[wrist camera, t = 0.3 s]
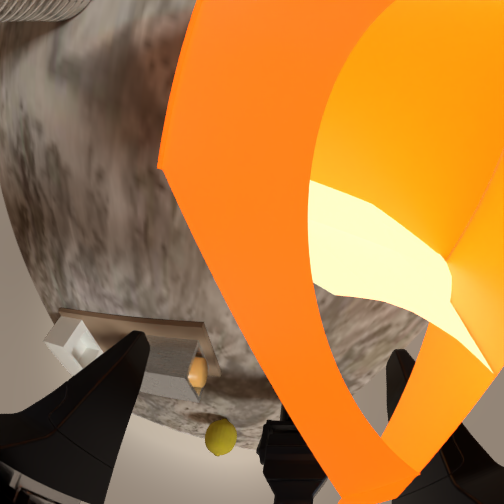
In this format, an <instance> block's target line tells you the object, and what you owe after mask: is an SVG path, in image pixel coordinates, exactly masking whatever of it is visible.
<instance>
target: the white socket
mask: <svg viewBox="0 0 504 504" xmlns="http://www.w3.org/2000/svg"><path fill="white" fill-rule="evenodd" d="M44 343H45V344H46V345H47V347H48V348H49V349H50V351H51V352H52V353H53V354H54V356H55V357H56V358H57V359H58V361H59V362H60V363H61V364H62V365H63V367H64V368H65V369H66V370H67V371H68V372H69V373H70V374H71V375H73V376H74V375H76V374H77V373H78V372H79V371H81V370H82V369H83V368H85V367H86V366H87V365H88V364H90V363H91V362H92V361H94V360H95V359H96V358H98V357H99V356H100V355H101V354H103V353H104V352H103V351H102V350H101V348H100V347H99V345H98V344H97V342H96V341H95V339H94V338H93V336H92V335H91V333H90V332H89V330H88V329H87V327H86V326H85V324H84V322H83V321H82V320H81V319H75V318H69V317H64V316H61V317H60V318H59V319H58V321H57V322H56V323H55V325H54V326H53V328H52V329H51V330H50V332H49V333H48V334H47V336H46V337H45V339H44Z"/></svg>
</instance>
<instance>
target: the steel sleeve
mask: <svg viewBox="0 0 504 504" xmlns="http://www.w3.org/2000/svg"><path fill="white" fill-rule="evenodd" d="M146 337H147V340H148V342H149V344H150V353H149V357H148V361H147V365H146V369H145V373H144V377H143V381H142V385H141V388H140V392H144V393H149V394H154V395H158V396H164V397H169V398H174V399H180V400H186V401H192V402H200V398H201V395H202V391H203V388H204V386H203V387H202V388H201V387H193V386H192V384H191V382H190V380H189V378H188V376H189V373H190V370H191V367H192V364H193V361H194V358H195V357H201V358H205V355H204V353H203V350H202V348H201V345H200V343H199V340H192V339H181V338H170V337H161V336H152V335H146ZM205 359H206V358H205ZM206 361H207V360H206ZM207 366H208V371H209V365H208V363H207Z"/></svg>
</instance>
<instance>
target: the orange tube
mask: <svg viewBox="0 0 504 504" xmlns="http://www.w3.org/2000/svg"><path fill="white" fill-rule="evenodd" d="M111 347H112V346H111ZM111 347H110V348H111ZM207 375H208V366H207V361H206V359H205V358H201V357H195V358H194V361H193V364H192V367H191V370H190V373H189V376H188V378H189V380H190V382H191V384H192V386H193V387H201V388H202V387H203V386H204V385H205V383H206V380H207Z"/></svg>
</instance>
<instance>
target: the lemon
mask: <svg viewBox="0 0 504 504" xmlns="http://www.w3.org/2000/svg"><path fill="white" fill-rule="evenodd" d="M236 439H237V432H236V429H235V427H234V426H233V425H232V424H231V423H230V422H228V420H227V419H225V418H223V419H222V420H217V421H215V422H213V423H211V424H210V426H209V427H208V429H207V431H206V434H205V443H206V447H207V448H208V450H209V451H210V452H212V453H213V454H214V455H215V456H220V455H224V454H227V453H228V452H230V451H231V450H232V449H233V447H234V445H235V443H236Z"/></svg>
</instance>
